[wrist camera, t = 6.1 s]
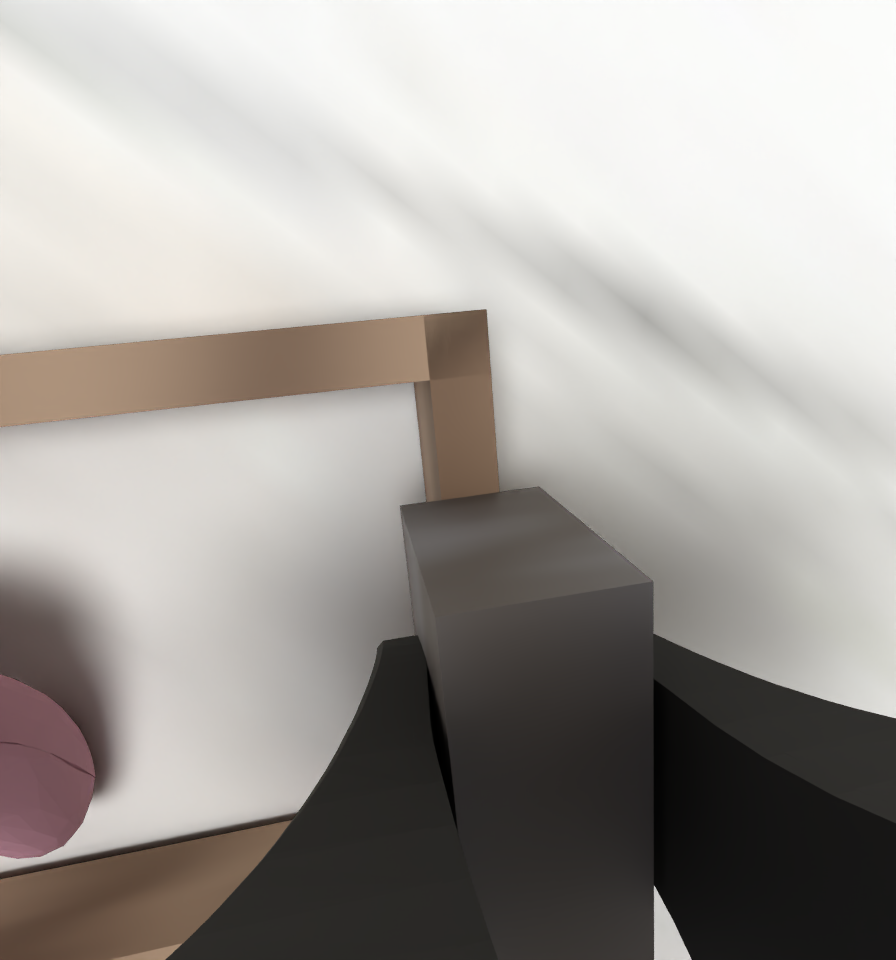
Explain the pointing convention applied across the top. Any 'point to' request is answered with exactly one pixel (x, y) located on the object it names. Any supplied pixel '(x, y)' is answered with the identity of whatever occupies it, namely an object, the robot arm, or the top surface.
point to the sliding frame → (446, 644)
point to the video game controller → (40, 772)
